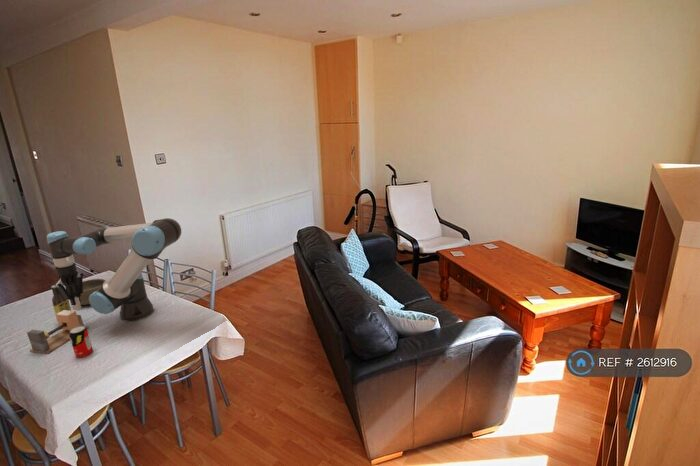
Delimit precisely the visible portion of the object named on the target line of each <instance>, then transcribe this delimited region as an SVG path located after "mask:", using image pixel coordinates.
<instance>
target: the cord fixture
mask: <svg viewBox="0 0 700 466" xmlns="http://www.w3.org/2000/svg"><path fill="white" fill-rule="evenodd" d="M77 317H78V321H79V324H80V326H84V327H85V329H87V330H88V329H89V326H85V325H84V322H83V318H82V316H81V315H80V314H77ZM66 325H67V324H66V323H64V324H62V325H60V326H59V325H58V326H57V327H56V328H54V329H52V330H50V331H49V332H45V330H41V329H31V330H28V332H26V334H27V337H28V340H29V343H30V346H31V347H32V348H30V349H29V352H31V353H37V354H38V353H39V354H45V355H49V354H51V353H53V352H54V351H55V350H57V349H59V348H60V347H63V345H65V344H67V343H68V342H69V341H70V342H71V340H70V337H69V335H70V330H63V329H61V328H63V327H65V326H66ZM60 330H61V331H60ZM58 331H59V332H58ZM56 332H57V333H56ZM55 333H56V334H55ZM51 335H52V336H51Z"/></svg>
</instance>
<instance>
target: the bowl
mask: <svg viewBox="0 0 700 466" xmlns="http://www.w3.org/2000/svg"><path fill="white" fill-rule="evenodd" d="M106 280H107V279H104V278H95V279H94V278H93V279H87V280H83V293H82V294H80V295H81V296H80V300H81V302H80V305H81V306H90V305H91V304H90V302H89V297H90V295H91V294H92V293H93V292H95V291H97V290H98V289H99V288H100V287H101V286H102V284H103V283H104V282H105V281H106Z"/></svg>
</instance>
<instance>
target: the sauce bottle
mask: <svg viewBox="0 0 700 466" xmlns="http://www.w3.org/2000/svg"><path fill="white" fill-rule="evenodd" d="M50 288H51V290H52V294H53V296H52V299H51V302H52V307H53V311H54V314H55V316H56V314H58V313H59V312H61V311H63V310H68V311H72V309H71V306H70V305H71V303H70V300H67V299H64V297H63V295H62V294H61V292H60V291H59V289H58V288H57V287H56V286H55V285H54V284H53V285H51V287H50Z"/></svg>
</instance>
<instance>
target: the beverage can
mask: <svg viewBox="0 0 700 466" xmlns="http://www.w3.org/2000/svg"><path fill="white" fill-rule="evenodd" d="M84 326H85V325H84ZM84 326H79V327H75V328H73V329H71V330H70V335H69V337H70V343H71V347H72V349H73V353H74V355H75V356H76V357H78V358H82V357H86V356H88V355H90V354H91V353H92V352H93V345H92V342H91V339H90V338H91V337H90V335H89V330H88V329H85V327H86V326H85V327H84Z"/></svg>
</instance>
